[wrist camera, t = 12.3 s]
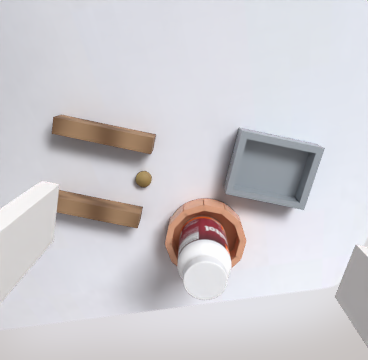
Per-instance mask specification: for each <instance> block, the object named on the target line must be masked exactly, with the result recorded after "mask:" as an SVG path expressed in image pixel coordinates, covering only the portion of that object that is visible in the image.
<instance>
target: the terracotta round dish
mask: <svg viewBox="0 0 368 360" xmlns="http://www.w3.org/2000/svg"><path fill="white" fill-rule="evenodd" d="M196 216H209V217H212V218H214V219H216V220H217V221H219V222H220V223H221V225H222V226H223V228H224V230H225V233H226V239H227V243H228V248H229V253H230V257H231V264H232V267H233V266H234V265H235V264H237V263H238V262H239V261H240V260H241V258H242V254H243V251H244V248H245V244H246V238H245V235H244V231H243V228H242V225H241V222H240V219H239V216H238V215H237V214H236V213H235V212H234V211H233V210H232V209H231V208H230V207H229V206H228V205H226V204H225V203H223V202H220V201H218V200H214V199H208V198H202V199H196V200H192V201H190V202H187V203H185V204H184V205H182V206H181V207H180V208H179V209H177V210H176V212H175V213H174V214H173V216H172V217H171V218H170V221H169V225H168V230H167V235H166V240H165V246H166V248H167V251H168V254H169V256H170V259H171V261H172V263H174V264H175V265H176V266H177V264H178V251H179V239H180V232H181V229H182V227H183V225H184V224H185V223H186V222H187V221H188V220H190V219H191V218H193V217H196ZM232 267H231V268H232Z"/></svg>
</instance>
